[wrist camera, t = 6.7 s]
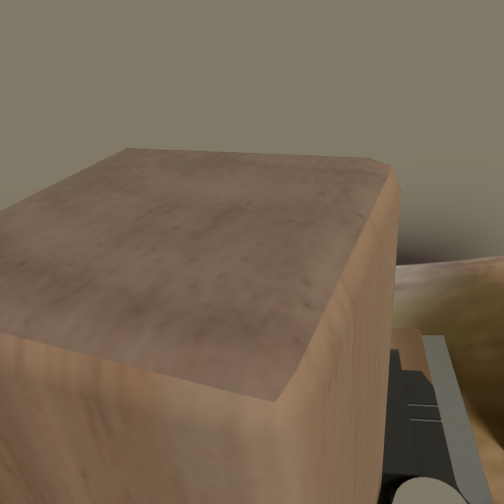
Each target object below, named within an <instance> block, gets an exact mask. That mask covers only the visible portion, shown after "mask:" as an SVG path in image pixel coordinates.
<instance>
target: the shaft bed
mask: <svg viewBox="0 0 504 504" xmlns="http://www.w3.org/2000/svg"><path fill="white" fill-rule="evenodd" d="M421 336H422V340H423V344H424V349H425V353H426V357H427V361H428V366H429V370H430V374H431V379H432V383H433V386H434V390H435V394H436V399H437V403H438V408H439V412H440V416H441V422H442V425H443V429H444V433H445V438H446V442H447V446H448V450H449V455H450V459H451V463H452V468H453V472H454V476H455V480H456V483H457V486H458V488H459V490H460V492H461V493H462V495H463V496H464V498H465V499H466V500H467V501H468V502H469V503H470V504H493V500H492V497H491V494H490V490H489V487H488V483H487V480H486V477H485V473H484V470H483V467H482V463H481V460H480V456H479V453H478V450H477V446H476V443H475V440H474V436H473V433H472V429H471V426H470V423H469V419H468V416H467V413H466V409H465V406H464V402H463V399H462V396H461V392H460V389H459V386H458V382H457V379H456V375H455V372H454V369H453V365H452V362H451V358H450V355H449V352H448V348H447V345H446V342H445V338H444V335H421Z"/></svg>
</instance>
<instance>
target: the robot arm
mask: <svg viewBox="0 0 504 504" xmlns="http://www.w3.org/2000/svg"><path fill="white" fill-rule="evenodd" d="M380 504H470V503H469V502H468V501H467V500H466V499H465V498H464V496H463V495H462V493H461V492H460V490H459V488H458V486H457V483H456V480H455V476H454V472H453V468H452V463H451V459H450V455H449V450H448V446H447V442H446V438H445V433H444V429H443V425H442V423H441V416H440V412H439V408H438V403H437V399H436V394H435V390H434V386H433V385H432V384H431V383H430V381H429V380H428V379H427V377H426V376H425V375H424V374H423V372H422V371H417V370H402V367H401V361H400V355H399V350H398V349H390V360H389V375H388V390H387V405H386V420H385V436H384V451H383V466H382V481H381V497H380Z"/></svg>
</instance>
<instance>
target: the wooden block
mask: <svg viewBox="0 0 504 504" xmlns="http://www.w3.org/2000/svg"><path fill="white" fill-rule="evenodd" d="M399 207H400V188H399V185H398V183H397V180H396V177H395V175H394V172H393V169H392V167H391V166H390V165H387V164H384V163H381V162H378V161H375V160H373V159H370V158H360V157H334V156H310V155H308V156H307V155H283V154H260V153H235V152H210V151H209V152H208V151H183V150H159V149H135V148H126V149H124V150H122V151H120V152H118V153H116V154H114V155H112V156H110V157H108V158H106V159H104V160H102V161H100V162H98V163H96V164H94V165H92V166H90V167H88V168H86V169H84V170H82V171H80V172H78V173H76V174H74V175H72V176H70V177H68V178H66V179H64V180H62V181H60V182H58V183H56V184H54V185H52V186H50V187H48V188H46V189H44V190H42V191H40V192H38V193H36V194H34V195H32V196H30V197H28V198H26V199H24V200H22V201H20V202H18V203H16V204H14V205H12V206H10V207H8V208H6V209H4V210H2V211H0V504H380V497H381V481H382V466H383V451H384V436H385V420H386V405H387V390H388V375H389V360H390V344H391V329H392V314H393V299H394V283H395V268H396V253H397V252H396V251H397V237H398V222H399Z"/></svg>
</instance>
